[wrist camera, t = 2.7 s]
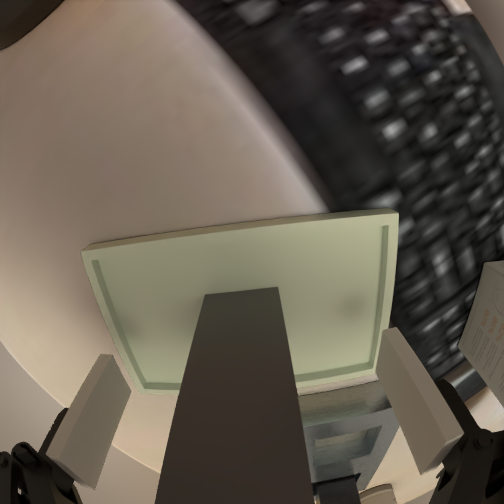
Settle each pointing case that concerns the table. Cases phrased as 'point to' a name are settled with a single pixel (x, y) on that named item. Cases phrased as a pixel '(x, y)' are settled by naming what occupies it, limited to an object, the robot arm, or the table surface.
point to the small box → (487, 329)
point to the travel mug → (378, 495)
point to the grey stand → (346, 439)
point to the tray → (248, 278)
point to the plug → (237, 410)
